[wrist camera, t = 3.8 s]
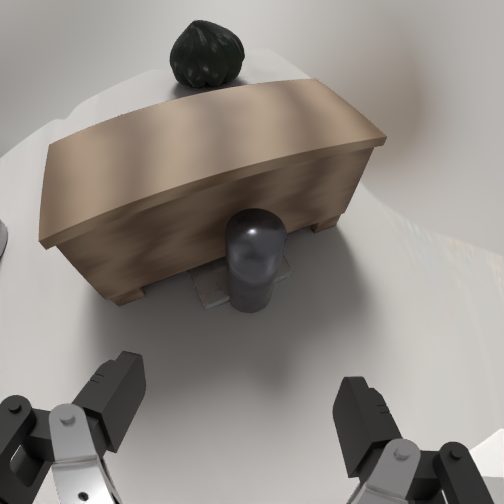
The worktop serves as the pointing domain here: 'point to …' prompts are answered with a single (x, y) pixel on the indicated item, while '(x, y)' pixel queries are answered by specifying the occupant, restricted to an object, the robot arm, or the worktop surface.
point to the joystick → (245, 263)
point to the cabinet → (198, 178)
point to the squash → (206, 55)
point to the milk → (491, 465)
